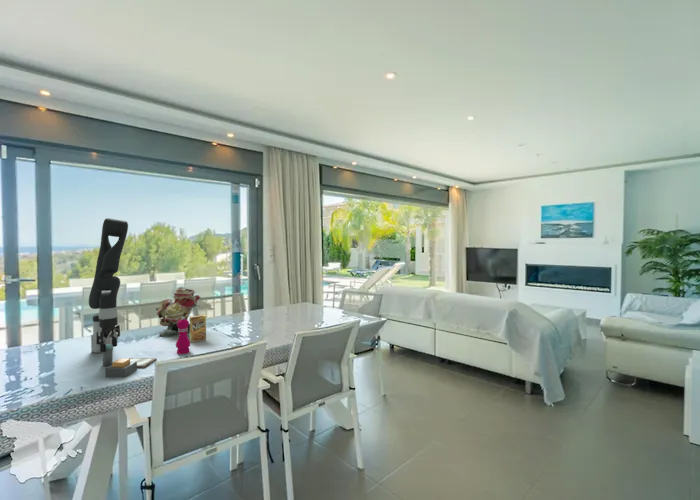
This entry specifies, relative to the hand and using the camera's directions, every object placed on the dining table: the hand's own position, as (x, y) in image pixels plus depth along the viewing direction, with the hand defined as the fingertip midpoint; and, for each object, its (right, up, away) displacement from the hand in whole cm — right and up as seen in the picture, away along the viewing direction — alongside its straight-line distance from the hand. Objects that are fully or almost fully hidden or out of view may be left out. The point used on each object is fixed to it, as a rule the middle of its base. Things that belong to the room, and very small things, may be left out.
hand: (109, 349), depth 173 cm
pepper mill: (+27, -8, +21) cm, 35 cm away
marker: (-1, -8, 0) cm, 8 cm away
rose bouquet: (+4, -6, +62) cm, 62 cm away
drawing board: (+12, -8, +2) cm, 15 cm away
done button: (+13, -6, -10) cm, 17 cm away
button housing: (+12, -9, -10) cm, 18 cm away
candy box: (+25, -7, +43) cm, 50 cm away
